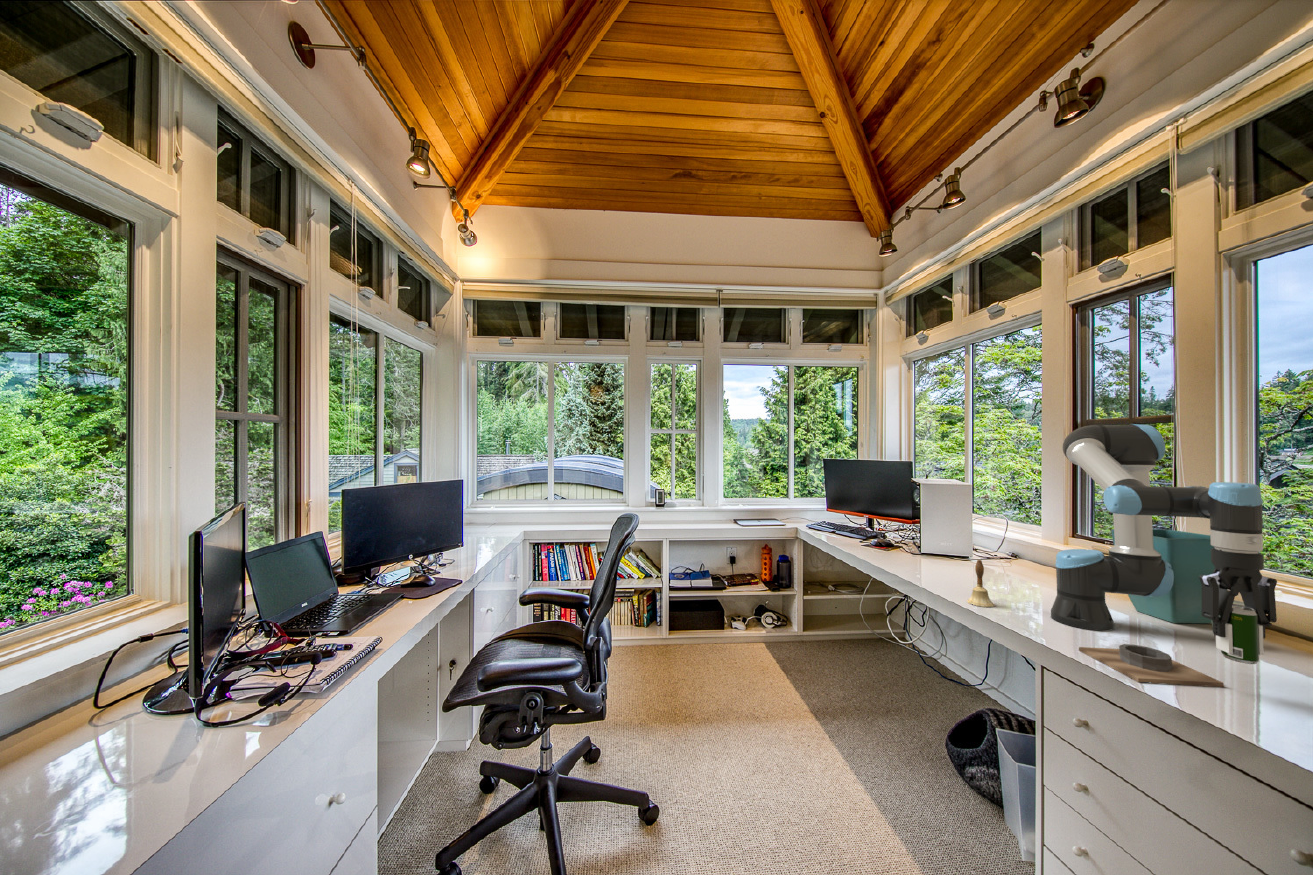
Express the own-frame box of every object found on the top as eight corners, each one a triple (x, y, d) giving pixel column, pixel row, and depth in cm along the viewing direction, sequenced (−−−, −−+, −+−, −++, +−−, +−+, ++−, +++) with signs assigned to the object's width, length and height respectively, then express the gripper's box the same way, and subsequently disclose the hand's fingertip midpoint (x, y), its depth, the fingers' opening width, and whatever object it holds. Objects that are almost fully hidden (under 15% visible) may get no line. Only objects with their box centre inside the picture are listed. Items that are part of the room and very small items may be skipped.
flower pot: (1112, 606, 165) (1109, 528, 166) (1169, 607, 164) (1166, 528, 165) (1172, 627, 145) (1168, 538, 146) (1238, 628, 144) (1234, 538, 145)
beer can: (1257, 667, 101) (1256, 612, 101) (1219, 657, 105) (1217, 605, 106) (1260, 660, 104) (1258, 607, 104) (1222, 651, 108) (1221, 601, 109)
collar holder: (1078, 650, 128) (1078, 636, 128) (1151, 653, 126) (1150, 639, 126) (1138, 682, 110) (1137, 665, 110) (1223, 686, 108) (1222, 669, 108)
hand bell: (963, 599, 173) (962, 557, 174) (988, 601, 171) (987, 558, 172) (972, 606, 165) (971, 562, 166) (998, 608, 163) (997, 563, 164)
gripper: (1208, 552, 102) (1211, 656, 102) (1303, 554, 100) (1307, 660, 100) (1174, 545, 110) (1177, 642, 109) (1262, 546, 108) (1266, 645, 107)
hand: (1239, 651), depth 105 cm, fingers closed on beer can, 5 cm apart
